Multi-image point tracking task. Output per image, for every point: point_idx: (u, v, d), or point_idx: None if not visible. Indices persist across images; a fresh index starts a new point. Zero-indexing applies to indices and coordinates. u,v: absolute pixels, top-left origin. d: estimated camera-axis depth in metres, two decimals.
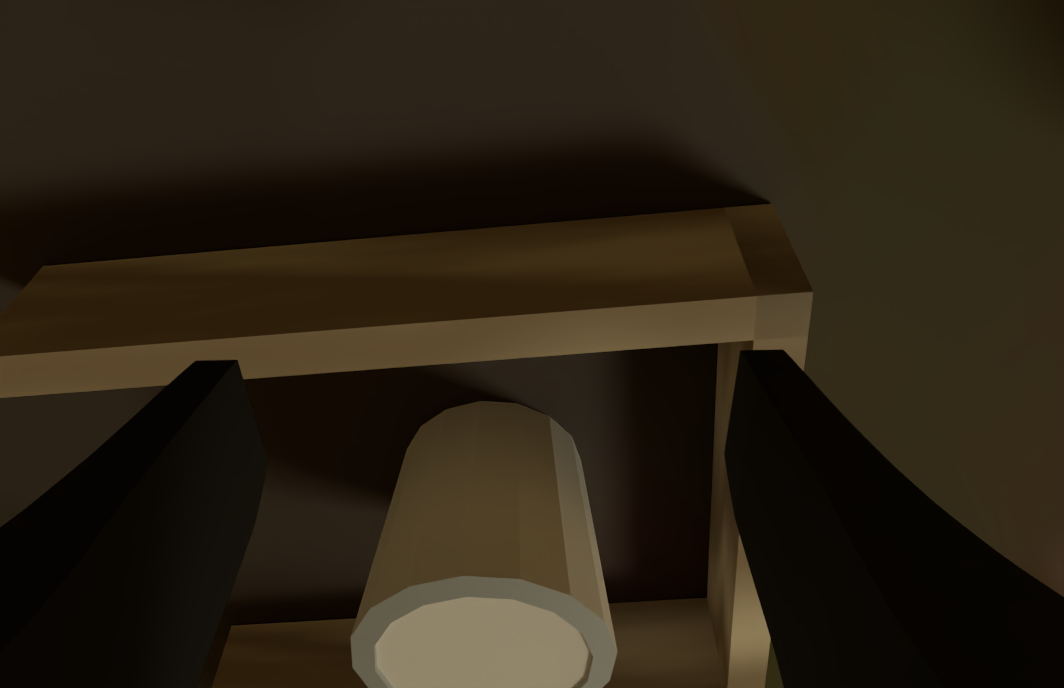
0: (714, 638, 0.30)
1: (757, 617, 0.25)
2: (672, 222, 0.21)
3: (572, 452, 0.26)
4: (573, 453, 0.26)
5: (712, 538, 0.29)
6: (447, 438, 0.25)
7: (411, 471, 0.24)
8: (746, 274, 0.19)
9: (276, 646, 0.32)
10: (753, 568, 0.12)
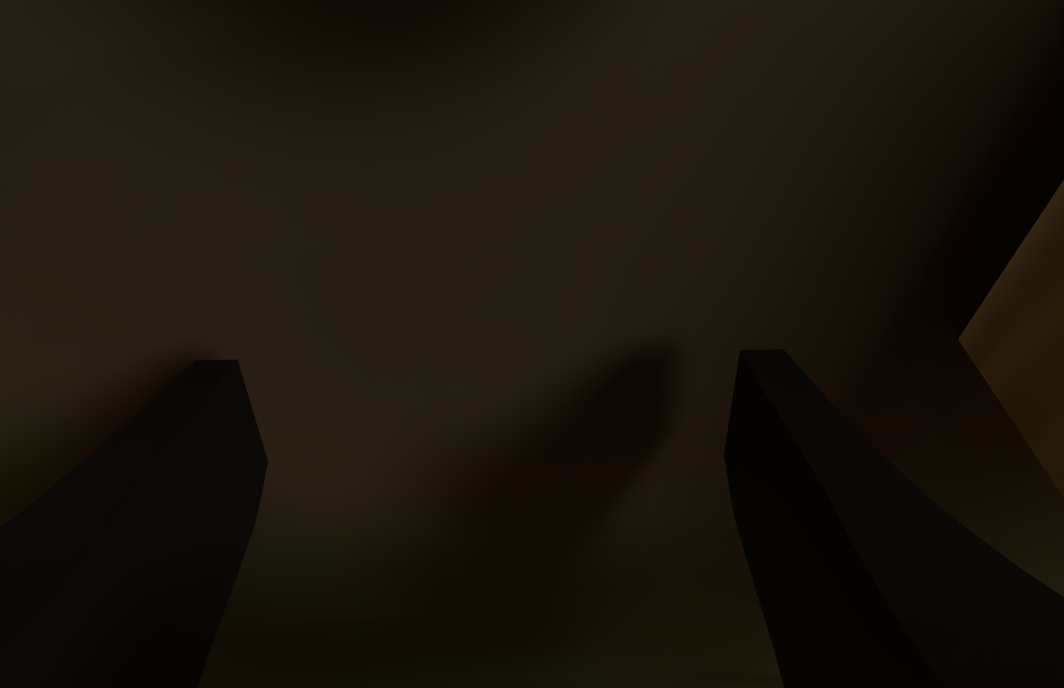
0: None
1: None
2: None
3: None
4: None
5: None
6: None
7: None
8: None
9: (1060, 271, 0.12)
10: (753, 568, 0.12)
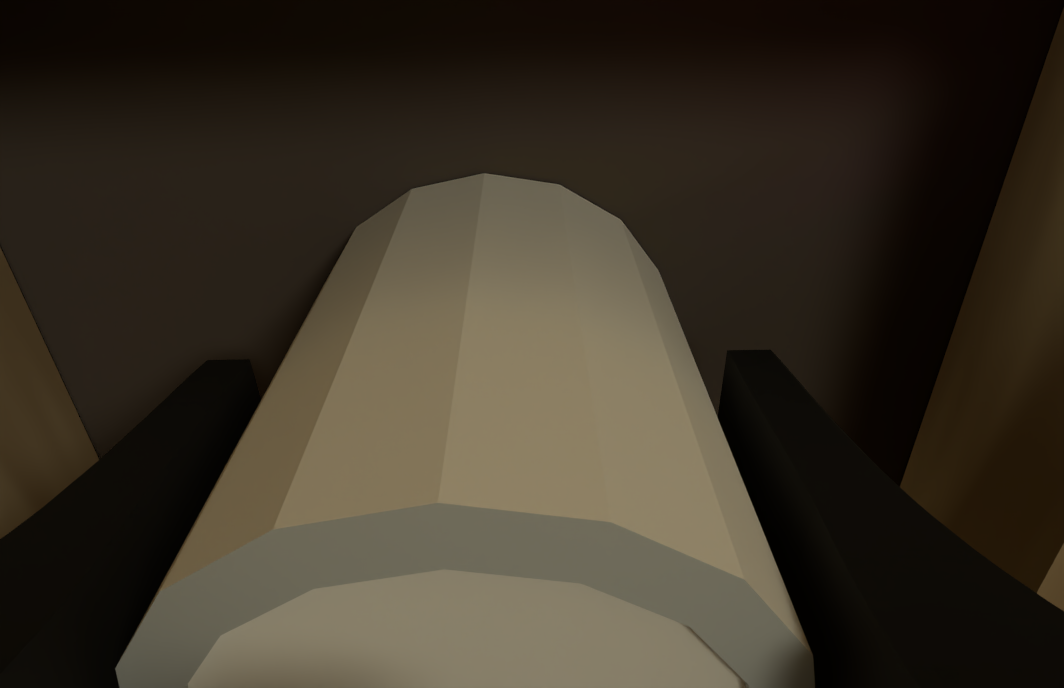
0: None
1: None
2: None
3: (395, 217, 0.12)
4: (398, 215, 0.12)
5: None
6: None
7: None
8: None
9: None
10: None
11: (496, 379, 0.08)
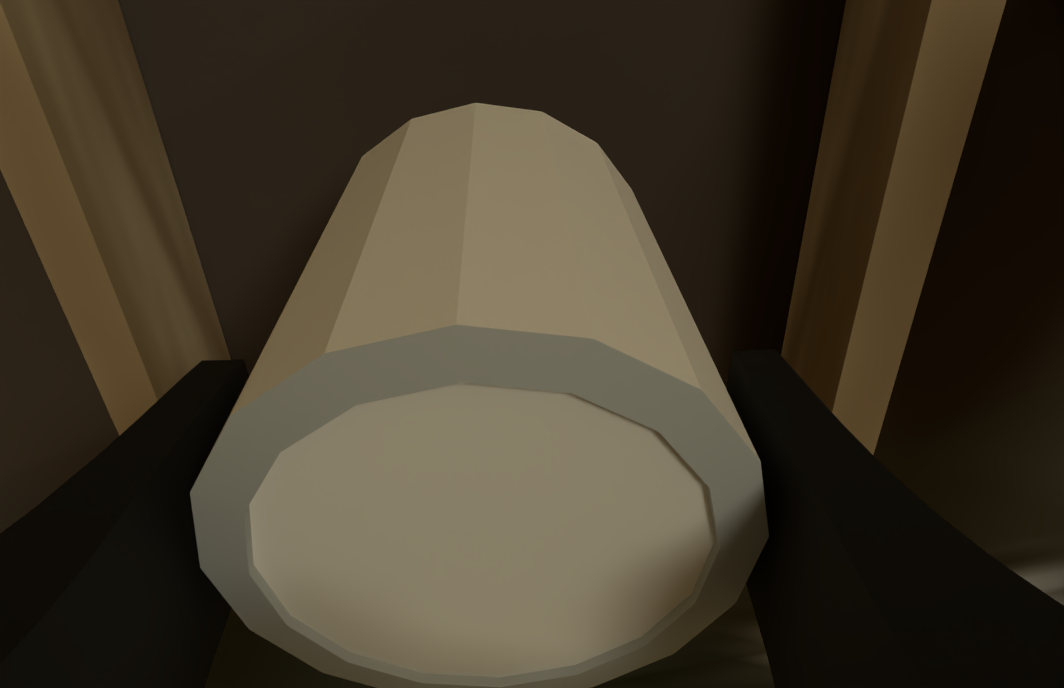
0: None
1: None
2: None
3: (399, 141, 0.13)
4: (401, 139, 0.13)
5: None
6: None
7: None
8: None
9: (793, 360, 0.22)
10: None
11: (496, 247, 0.10)
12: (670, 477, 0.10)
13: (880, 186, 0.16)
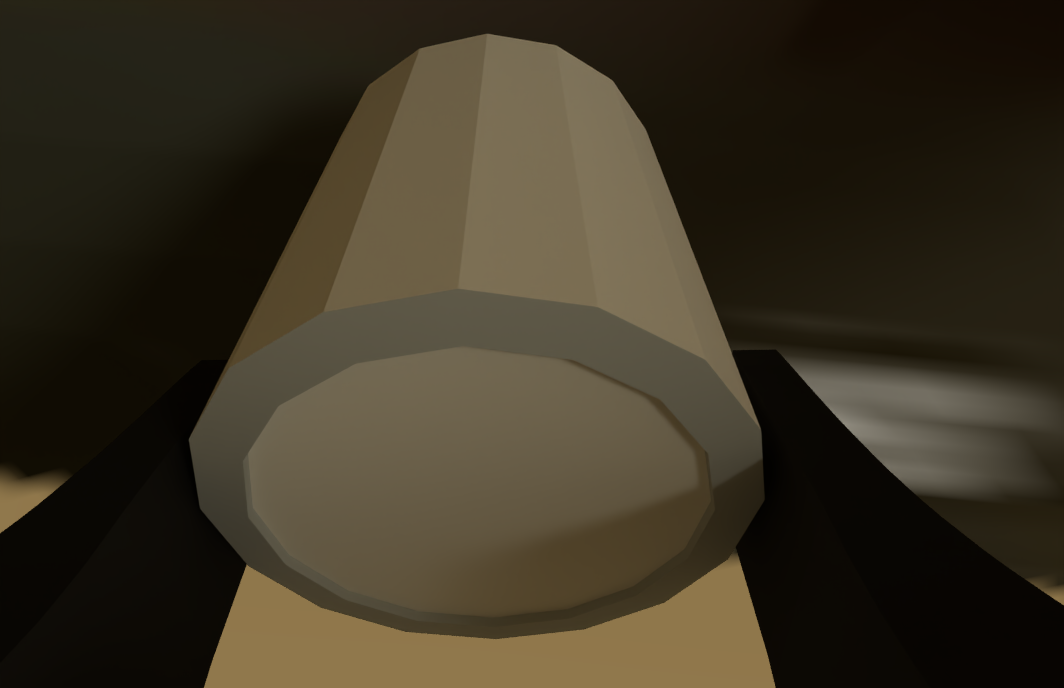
0: None
1: None
2: None
3: (406, 73, 0.13)
4: (408, 71, 0.13)
5: None
6: None
7: None
8: None
9: None
10: (746, 568, 0.12)
11: (502, 201, 0.09)
12: (669, 441, 0.10)
13: None
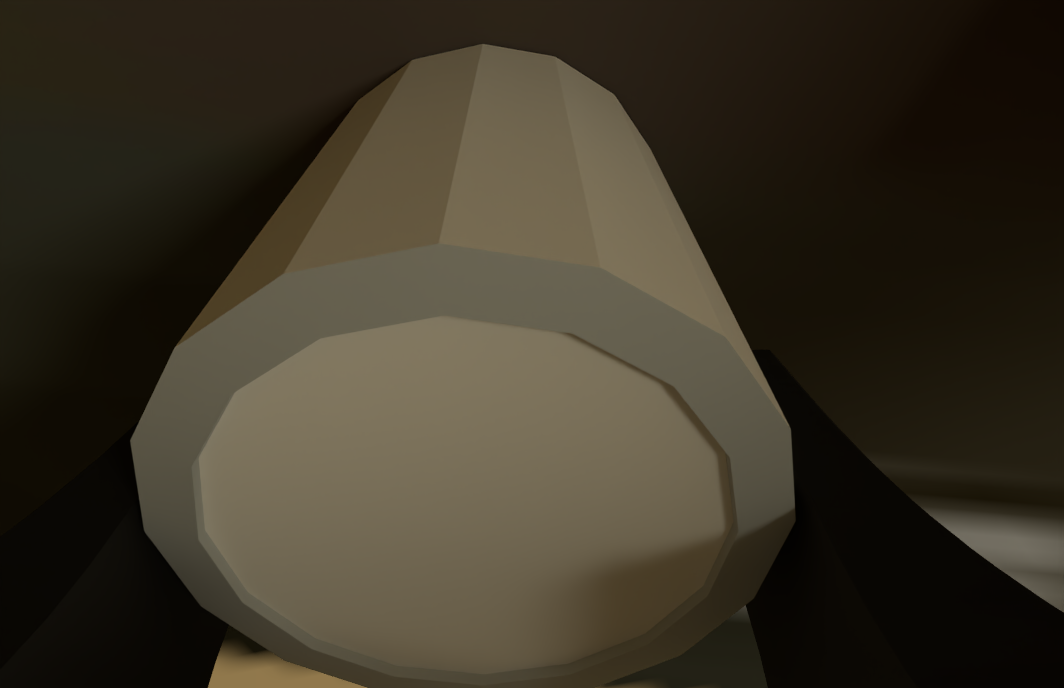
0: None
1: None
2: None
3: (397, 79, 0.12)
4: (399, 78, 0.12)
5: None
6: None
7: None
8: None
9: None
10: None
11: (493, 172, 0.08)
12: (685, 444, 0.08)
13: None
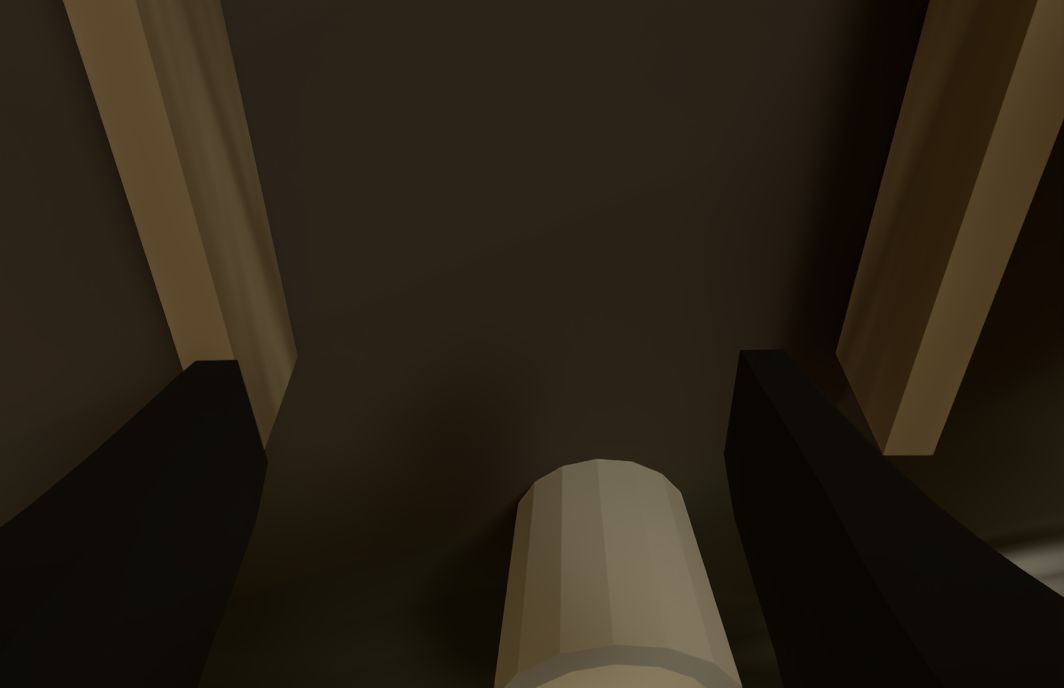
0: None
1: None
2: None
3: (531, 503, 0.26)
4: (532, 502, 0.26)
5: None
6: None
7: None
8: None
9: (863, 316, 0.22)
10: (753, 568, 0.12)
11: (574, 594, 0.22)
12: (679, 677, 0.21)
13: (987, 121, 0.16)
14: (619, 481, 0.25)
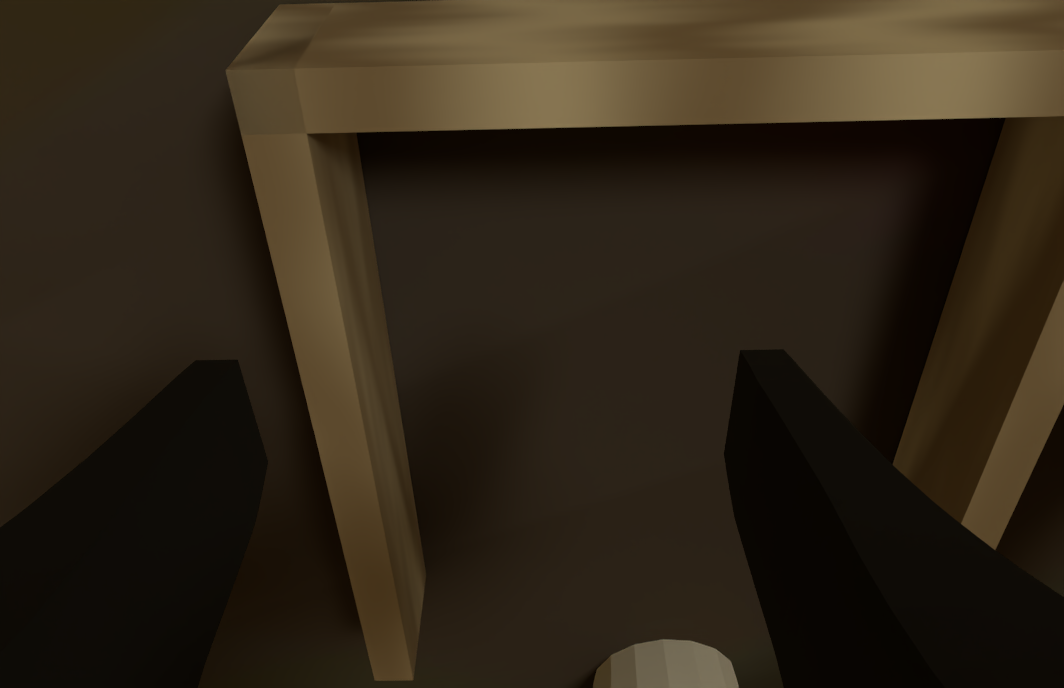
0: None
1: (893, 80, 0.15)
2: None
3: (609, 676, 0.32)
4: (610, 675, 0.32)
5: None
6: None
7: None
8: None
9: None
10: (753, 568, 0.12)
11: None
12: None
13: (972, 478, 0.21)
14: (682, 662, 0.31)
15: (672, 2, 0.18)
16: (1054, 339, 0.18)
